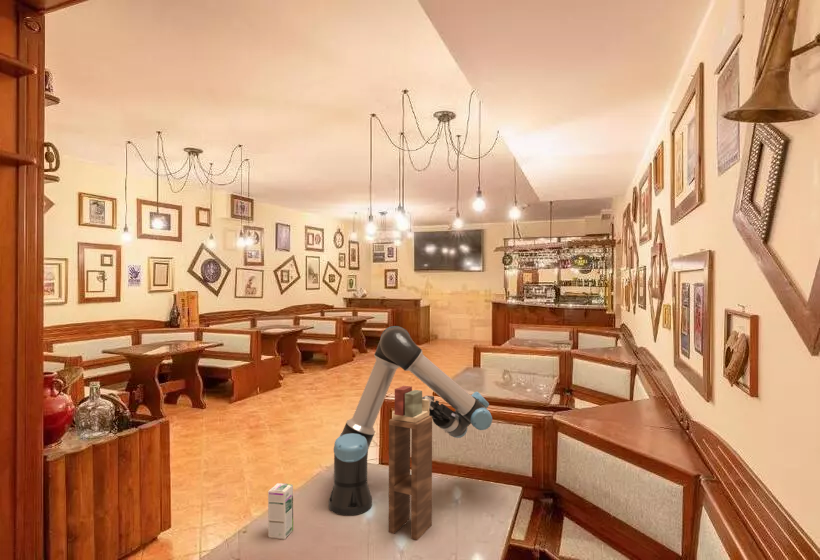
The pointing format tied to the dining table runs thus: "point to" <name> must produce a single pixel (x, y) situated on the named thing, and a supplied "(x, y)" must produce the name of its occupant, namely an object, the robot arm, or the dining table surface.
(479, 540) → the dining table surface
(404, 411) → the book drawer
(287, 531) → the syrup box
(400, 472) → the walnut shelf
